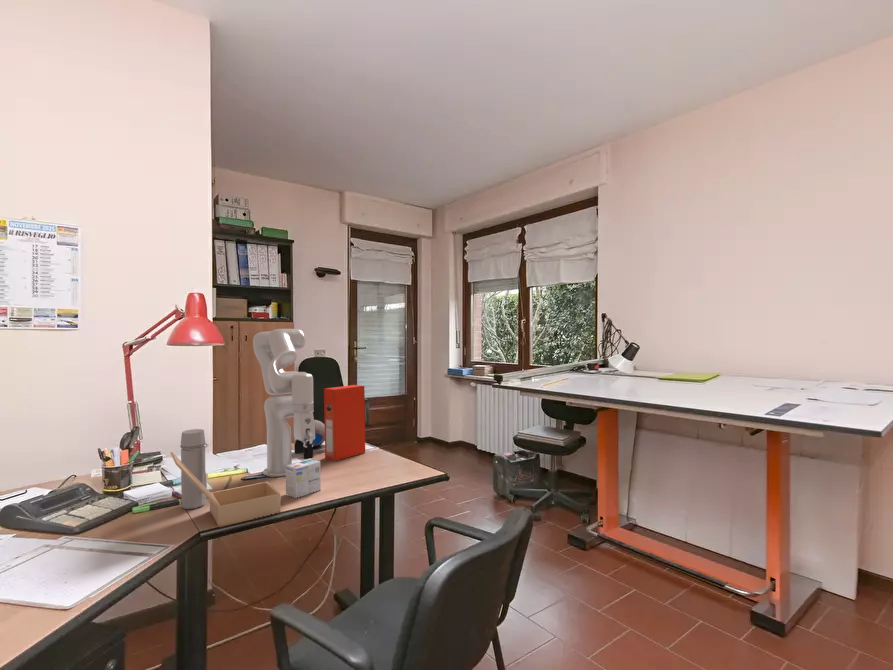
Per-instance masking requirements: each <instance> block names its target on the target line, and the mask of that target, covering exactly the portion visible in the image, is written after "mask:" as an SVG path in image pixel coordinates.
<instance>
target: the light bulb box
mask: <svg viewBox="0 0 893 670" xmlns="http://www.w3.org/2000/svg"><path fill="white" fill-rule="evenodd" d="M285 469H286V475H285V495H286V494H288V495H290V496H289V497H291V496H292V497H291V498H293V497H294V498H293V499H295V498H296V499H298V498H300V496H301V497H304V496H307V495H311V494H313V492H314V493H316V491H317V492H319V491H318V490H320V491H321V490H322V488H321V487H322V486H321V482H322V481H321V480H322V479H321V461H320V460H316V459H313V458H310V459H304V460H300V461H297V462H293V463H292V464H289V465H285ZM310 493H311V494H310ZM288 495H287V496H288ZM297 497H298V498H297Z"/></svg>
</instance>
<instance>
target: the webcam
mask: <svg viewBox="0 0 893 670" xmlns="http://www.w3.org/2000/svg"><path fill="white" fill-rule="evenodd" d="M314 426H315V439H314V440H313V455H318V454H319V455H320V454H323V453H325V444H324V443H325V423H323V422H322V421H320V420H317V419H314ZM306 444H307V442H306ZM304 448H305V447H304ZM300 454H302V455H304V452H303V453H300Z"/></svg>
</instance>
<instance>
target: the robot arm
mask: <svg viewBox="0 0 893 670" xmlns="http://www.w3.org/2000/svg"><path fill="white" fill-rule="evenodd" d="M305 344H306V336H305V334H304V332H303V331H302V330H301V329H299V328H276V329H273V330H271V331H260V332H258V333H256V334H255V335H254V336H253V339H252V348H253V352H254V356H255V357H256V359H257V361H258V363H259V365H260V368H261V369H260V370H261V374H262V380H263V387H264V390H265V392H266V393H267V394H268V395H271V396H269V397H268V398H266V399H265V401H264V404H263V409H264V414H265V423H266V462H267V463H266V468H265V469H263V472H262V474H263V475H264V476H265V475H266V477H271V478H275V477H277V478H278V477H284V476H285V477H286V469H285V465H289V464H292V462H293V456H292V455H293V454H292V450H293V449H292V448H293V447H292V428H291V425H290V424H289V423H288V422H287V421H286V419H290V418H293V424H292V425H293V437H294V439H293V440H294V454H295V455H298V454H301V453H303V452H304V454H303V459H304V460H307V459H313V458H314V454H313V440H314V439H315V426H314V420H315V419H314V418H315V417H314V411H315V410H314V408H315V407H314V402H315V401H314V377H313V375H312V373H307V372H306V371H298V370H297V371H296V370H293V371H292V370H291V371H290V370H289V371H288V370H287V371H285V370H284V369H285V368H287V367H289V366H291V365H292V364H294V363H295V362H296V360H297V359H298V358H297V357H298V354H297V353H298V352H297V350H300V349H303V348H304V346H305ZM272 395H273V396H272ZM306 442H307V444H306ZM304 447H305V448H304Z"/></svg>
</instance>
